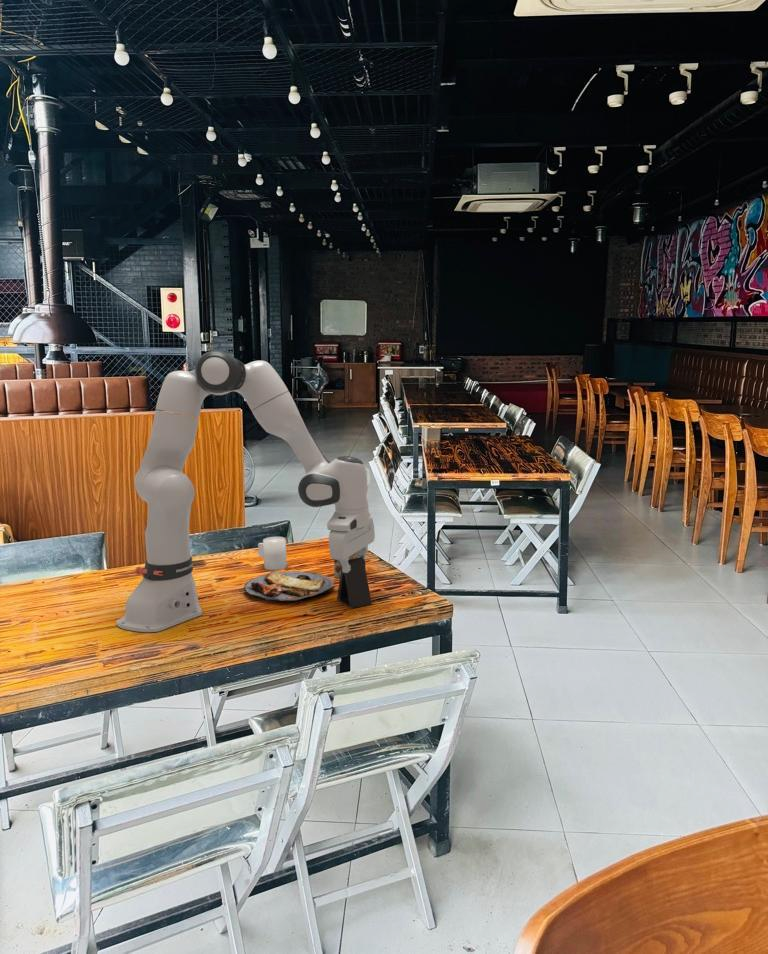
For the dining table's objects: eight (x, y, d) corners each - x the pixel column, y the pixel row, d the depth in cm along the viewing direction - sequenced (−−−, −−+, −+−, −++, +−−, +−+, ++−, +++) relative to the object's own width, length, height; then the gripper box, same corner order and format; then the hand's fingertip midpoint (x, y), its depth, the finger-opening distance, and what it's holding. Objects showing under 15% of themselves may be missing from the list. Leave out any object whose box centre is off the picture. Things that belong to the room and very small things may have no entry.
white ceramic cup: (279, 571, 235) (277, 543, 233) (254, 568, 239) (252, 540, 237) (291, 565, 241) (289, 537, 240) (266, 562, 245) (265, 535, 243)
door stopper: (371, 604, 203) (370, 561, 201) (352, 608, 201) (350, 565, 198) (356, 595, 211) (355, 553, 209) (336, 599, 208) (335, 557, 206)
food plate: (227, 596, 212) (227, 584, 212) (276, 573, 233) (276, 562, 232) (302, 611, 201) (302, 598, 200) (347, 586, 221) (347, 575, 221)
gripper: (358, 507, 213) (360, 555, 215) (323, 525, 194) (326, 576, 197) (379, 509, 210) (381, 557, 213) (345, 527, 192) (348, 579, 194)
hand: (354, 566), depth 205 cm, fingers open, 8 cm apart
